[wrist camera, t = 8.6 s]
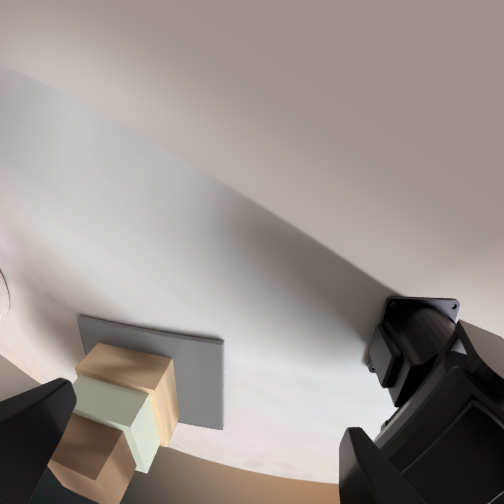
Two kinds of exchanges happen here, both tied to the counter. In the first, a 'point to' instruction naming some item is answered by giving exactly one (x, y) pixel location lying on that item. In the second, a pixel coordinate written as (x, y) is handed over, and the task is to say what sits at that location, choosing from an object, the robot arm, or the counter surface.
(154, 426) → the tower mid
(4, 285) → the pill bottle
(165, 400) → the tower base
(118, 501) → the walnut block
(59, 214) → the counter surface
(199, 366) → the slate board
